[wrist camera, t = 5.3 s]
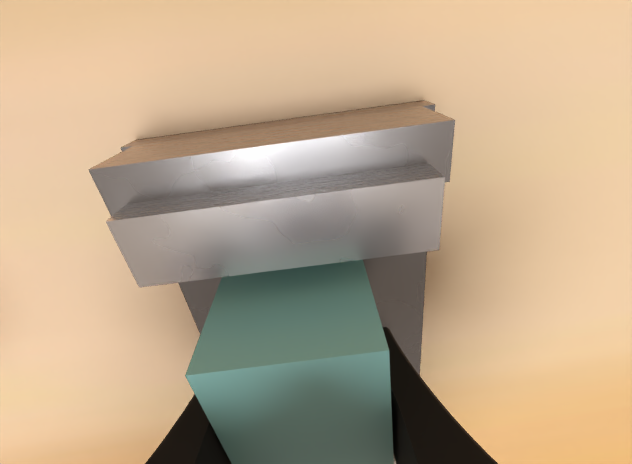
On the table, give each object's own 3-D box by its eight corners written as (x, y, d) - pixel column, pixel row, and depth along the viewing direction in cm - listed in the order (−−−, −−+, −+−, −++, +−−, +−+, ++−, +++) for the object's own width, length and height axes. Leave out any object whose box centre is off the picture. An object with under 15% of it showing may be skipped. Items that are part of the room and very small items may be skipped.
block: (367, 365, 15) (395, 498, 10) (271, 377, 15) (257, 513, 10) (355, 235, 11) (388, 350, 7) (230, 252, 11) (185, 375, 7)
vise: (411, 412, 19) (439, 502, 16) (251, 430, 20) (238, 523, 16) (424, 100, 11) (495, 126, 7) (135, 140, 11) (41, 187, 7)
